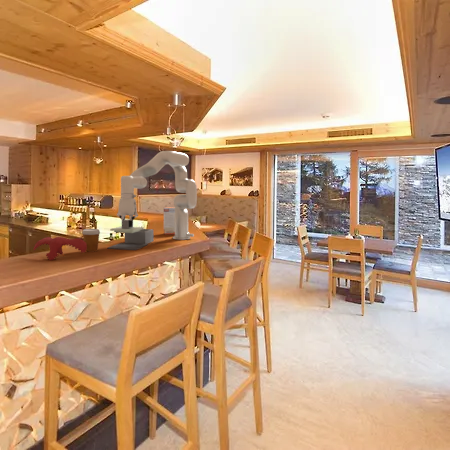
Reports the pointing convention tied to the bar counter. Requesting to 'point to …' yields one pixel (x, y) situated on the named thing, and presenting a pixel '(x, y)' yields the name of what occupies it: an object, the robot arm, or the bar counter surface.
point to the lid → (126, 228)
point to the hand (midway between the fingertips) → (127, 226)
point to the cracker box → (169, 220)
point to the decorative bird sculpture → (60, 245)
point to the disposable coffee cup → (91, 239)
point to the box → (140, 237)
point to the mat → (127, 246)
